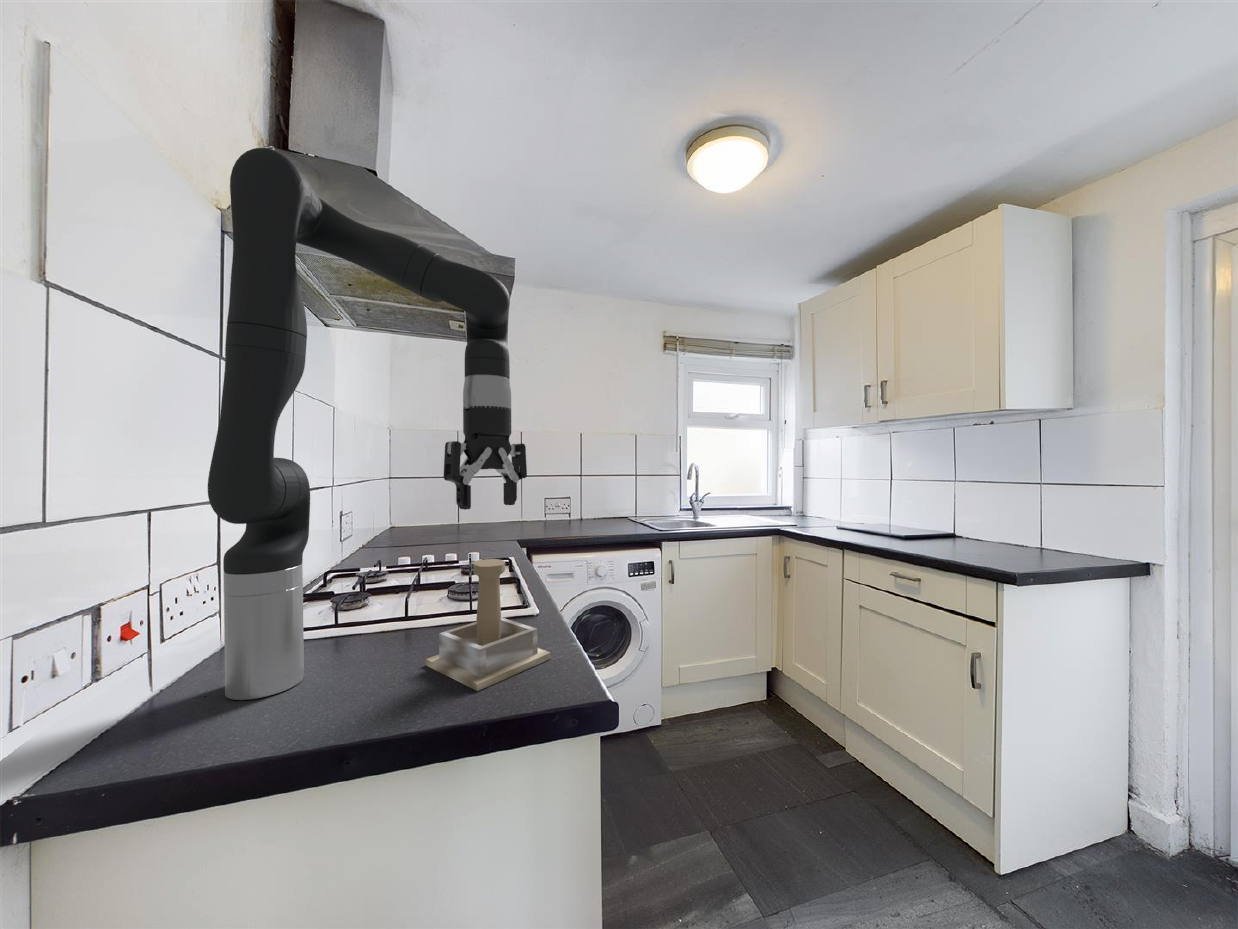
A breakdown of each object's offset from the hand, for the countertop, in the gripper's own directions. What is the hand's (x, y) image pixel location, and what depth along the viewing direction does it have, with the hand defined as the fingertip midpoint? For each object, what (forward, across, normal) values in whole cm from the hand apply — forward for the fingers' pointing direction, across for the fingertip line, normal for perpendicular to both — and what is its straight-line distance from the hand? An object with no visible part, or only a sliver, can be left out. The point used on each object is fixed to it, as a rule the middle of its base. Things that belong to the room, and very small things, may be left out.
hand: (487, 507), depth 77 cm
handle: (+24, 0, 0) cm, 24 cm away
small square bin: (+25, 0, 0) cm, 25 cm away
